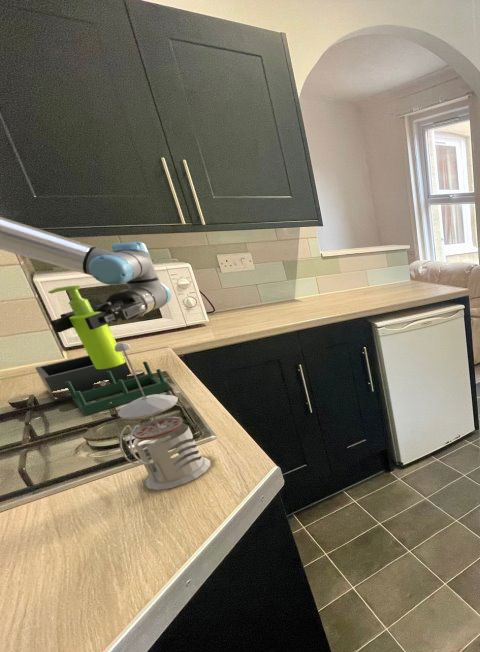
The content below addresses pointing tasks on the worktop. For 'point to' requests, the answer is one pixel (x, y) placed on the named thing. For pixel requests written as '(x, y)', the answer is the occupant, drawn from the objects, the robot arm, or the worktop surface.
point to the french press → (163, 467)
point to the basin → (77, 375)
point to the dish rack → (115, 387)
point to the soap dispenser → (92, 332)
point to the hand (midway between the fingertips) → (72, 325)
